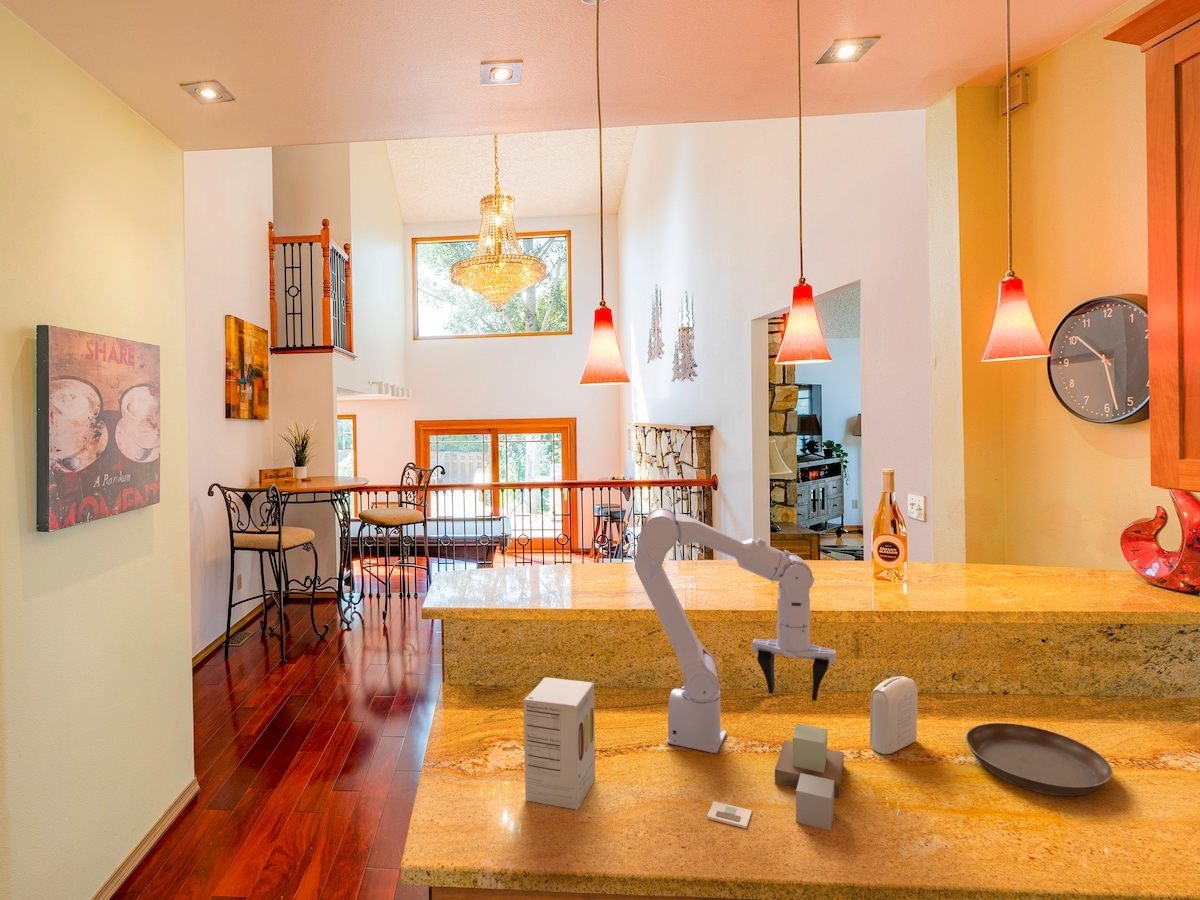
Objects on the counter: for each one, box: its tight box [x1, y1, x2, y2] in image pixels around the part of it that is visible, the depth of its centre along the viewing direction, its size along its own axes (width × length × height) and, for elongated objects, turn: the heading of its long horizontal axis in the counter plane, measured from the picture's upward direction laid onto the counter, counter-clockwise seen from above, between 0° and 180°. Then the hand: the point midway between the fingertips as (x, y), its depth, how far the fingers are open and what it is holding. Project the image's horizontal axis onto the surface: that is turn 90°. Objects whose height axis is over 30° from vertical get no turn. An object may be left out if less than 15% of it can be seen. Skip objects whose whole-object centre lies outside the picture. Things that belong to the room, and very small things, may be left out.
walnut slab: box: [774, 740, 845, 799], centre depth 109 cm, size 10×10×3 cm
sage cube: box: [792, 723, 828, 773], centre depth 108 cm, size 5×5×5 cm
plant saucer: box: [965, 722, 1113, 797], centre depth 110 cm, size 21×21×3 cm
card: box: [706, 800, 753, 829], centre depth 98 cm, size 6×4×1 cm, turn 66°
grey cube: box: [795, 773, 835, 831], centre depth 98 cm, size 5×5×5 cm
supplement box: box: [522, 676, 596, 811], centre depth 105 cm, size 10×9×17 cm
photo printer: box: [869, 675, 919, 755], centre depth 118 cm, size 10×4×12 cm, turn 123°
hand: (792, 694), depth 118 cm, fingers open, 7 cm apart
